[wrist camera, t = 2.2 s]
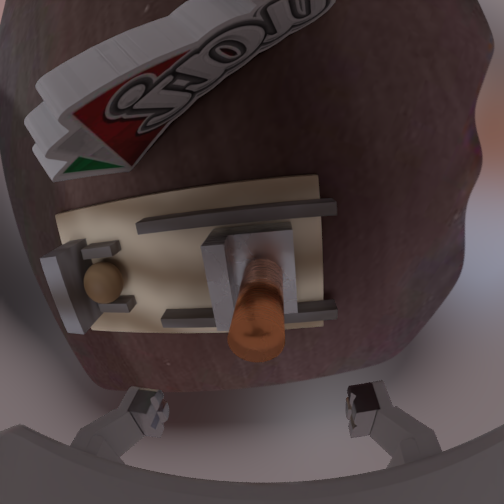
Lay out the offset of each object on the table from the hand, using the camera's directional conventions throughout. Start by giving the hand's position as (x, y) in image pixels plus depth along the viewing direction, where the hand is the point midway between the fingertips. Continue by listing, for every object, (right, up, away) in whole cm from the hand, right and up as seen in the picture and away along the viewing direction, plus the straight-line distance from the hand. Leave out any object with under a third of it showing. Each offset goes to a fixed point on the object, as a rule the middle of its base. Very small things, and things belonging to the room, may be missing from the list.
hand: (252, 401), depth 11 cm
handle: (0, +5, +13) cm, 14 cm away
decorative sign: (-3, +22, +9) cm, 24 cm away
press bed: (-7, +5, +16) cm, 18 cm away
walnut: (-14, +3, +13) cm, 20 cm away
